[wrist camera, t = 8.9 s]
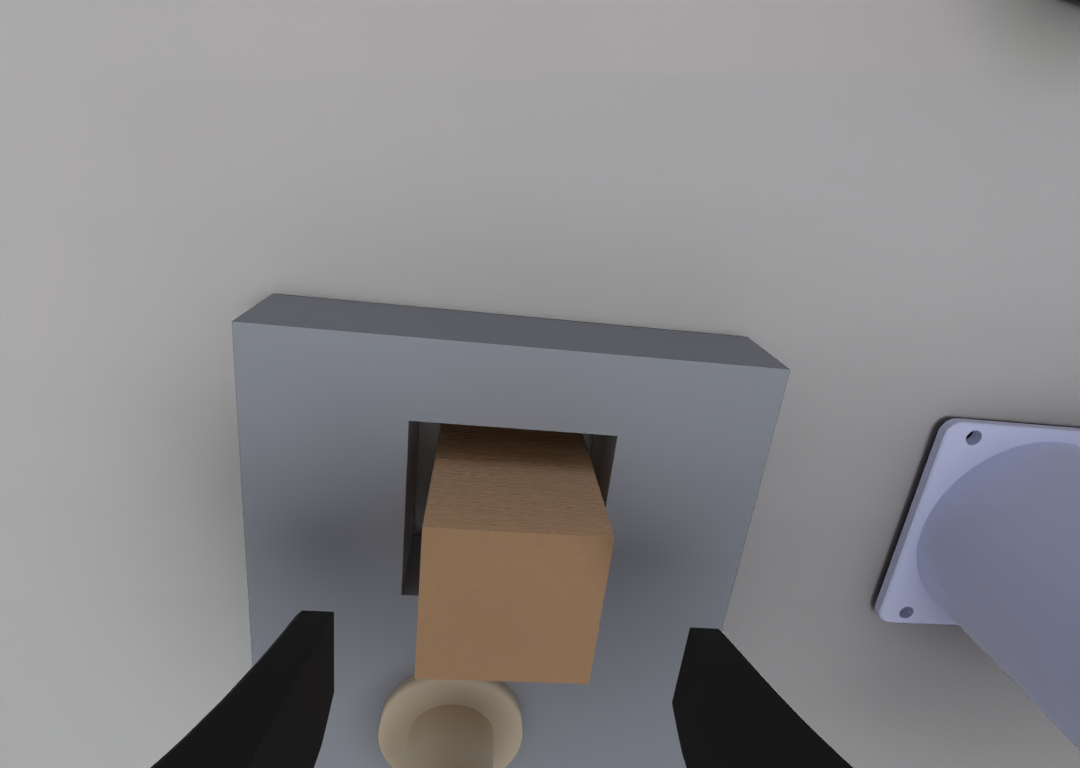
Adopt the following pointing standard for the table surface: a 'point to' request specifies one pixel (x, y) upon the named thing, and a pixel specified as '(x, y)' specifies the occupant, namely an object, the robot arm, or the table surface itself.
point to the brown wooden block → (511, 558)
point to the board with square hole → (395, 552)
